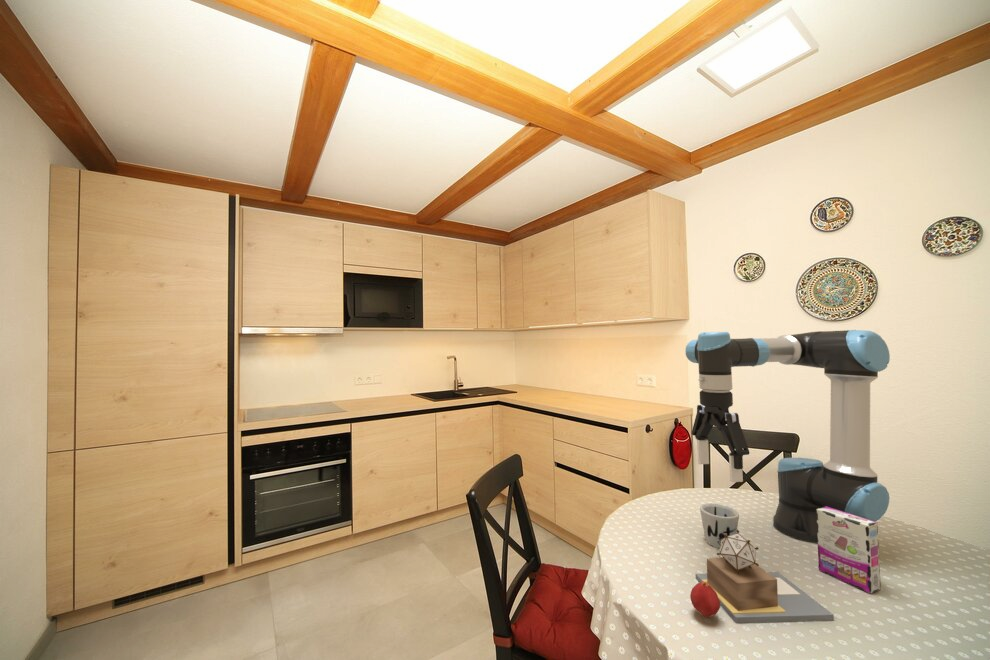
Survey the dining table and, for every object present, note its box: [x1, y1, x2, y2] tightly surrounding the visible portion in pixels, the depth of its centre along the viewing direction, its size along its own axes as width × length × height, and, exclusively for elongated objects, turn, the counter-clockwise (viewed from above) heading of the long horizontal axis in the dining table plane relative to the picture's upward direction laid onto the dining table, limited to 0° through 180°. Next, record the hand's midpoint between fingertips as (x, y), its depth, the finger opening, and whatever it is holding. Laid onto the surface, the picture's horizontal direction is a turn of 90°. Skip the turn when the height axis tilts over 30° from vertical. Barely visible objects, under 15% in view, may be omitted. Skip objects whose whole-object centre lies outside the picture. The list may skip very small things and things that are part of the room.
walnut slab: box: [706, 556, 778, 611], centre depth 91 cm, size 10×10×6 cm
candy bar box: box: [816, 506, 882, 595], centre depth 99 cm, size 11×5×16 cm, turn 23°
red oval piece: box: [689, 581, 721, 619], centre depth 86 cm, size 6×6×8 cm
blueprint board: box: [694, 571, 835, 624], centre depth 92 cm, size 22×16×2 cm
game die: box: [715, 529, 760, 574], centre depth 92 cm, size 9×8×10 cm
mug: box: [699, 503, 740, 549], centre depth 120 cm, size 10×15×10 cm
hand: (718, 472), depth 100 cm, fingers open, 13 cm apart
